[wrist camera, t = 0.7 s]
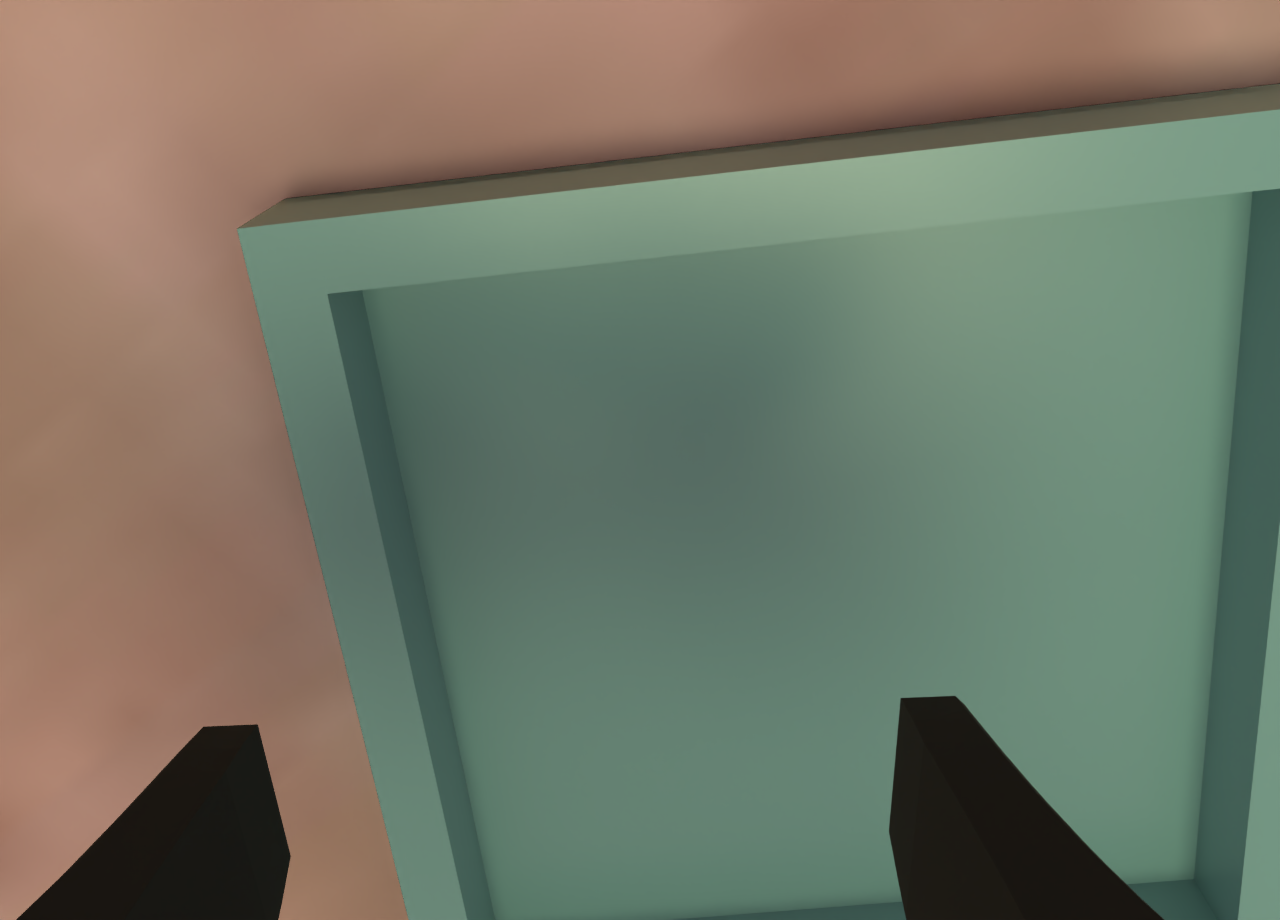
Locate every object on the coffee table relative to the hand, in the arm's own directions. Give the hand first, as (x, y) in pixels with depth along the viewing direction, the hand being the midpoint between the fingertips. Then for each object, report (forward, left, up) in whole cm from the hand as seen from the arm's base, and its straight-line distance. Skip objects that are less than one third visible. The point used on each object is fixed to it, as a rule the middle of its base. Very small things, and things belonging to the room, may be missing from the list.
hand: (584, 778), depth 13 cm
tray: (-4, -4, -10) cm, 12 cm away
